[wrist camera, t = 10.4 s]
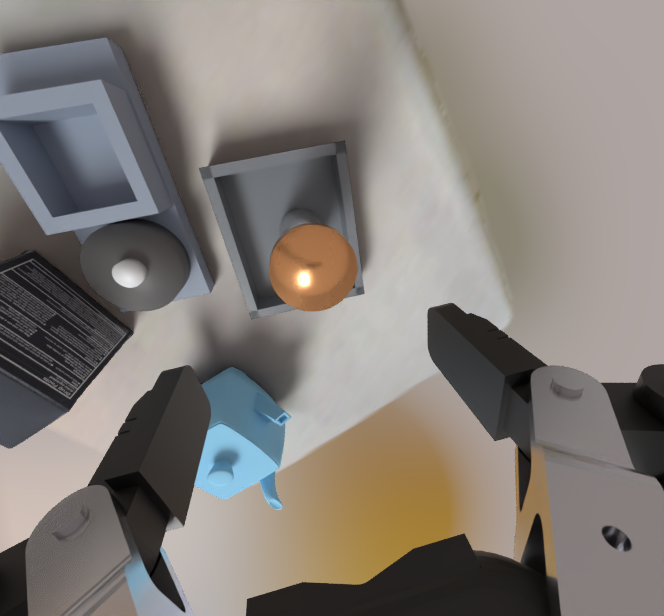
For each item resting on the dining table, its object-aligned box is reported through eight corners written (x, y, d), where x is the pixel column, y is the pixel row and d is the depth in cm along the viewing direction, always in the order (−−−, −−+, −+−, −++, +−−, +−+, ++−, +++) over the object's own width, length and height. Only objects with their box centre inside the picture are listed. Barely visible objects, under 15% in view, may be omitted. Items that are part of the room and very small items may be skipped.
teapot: (134, 381, 32) (78, 466, 23) (236, 313, 30) (219, 376, 21) (243, 460, 40) (233, 544, 31) (328, 409, 38) (343, 484, 30)
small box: (-21, 288, 25) (-194, 361, 16) (33, 246, 25) (-115, 298, 15) (88, 365, 30) (5, 455, 21) (136, 332, 29) (72, 411, 20)
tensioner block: (-1, 67, 19) (-91, 37, 15) (121, 48, 20) (72, 13, 15) (131, 303, 28) (101, 332, 23) (214, 285, 28) (201, 309, 24)
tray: (207, 167, 24) (198, 168, 21) (337, 142, 25) (344, 140, 22) (253, 305, 30) (251, 319, 27) (356, 282, 31) (364, 293, 28)
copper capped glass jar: (265, 207, 26) (257, 237, 16) (323, 196, 26) (351, 218, 16) (280, 263, 28) (281, 319, 18) (333, 252, 28) (362, 301, 18)
